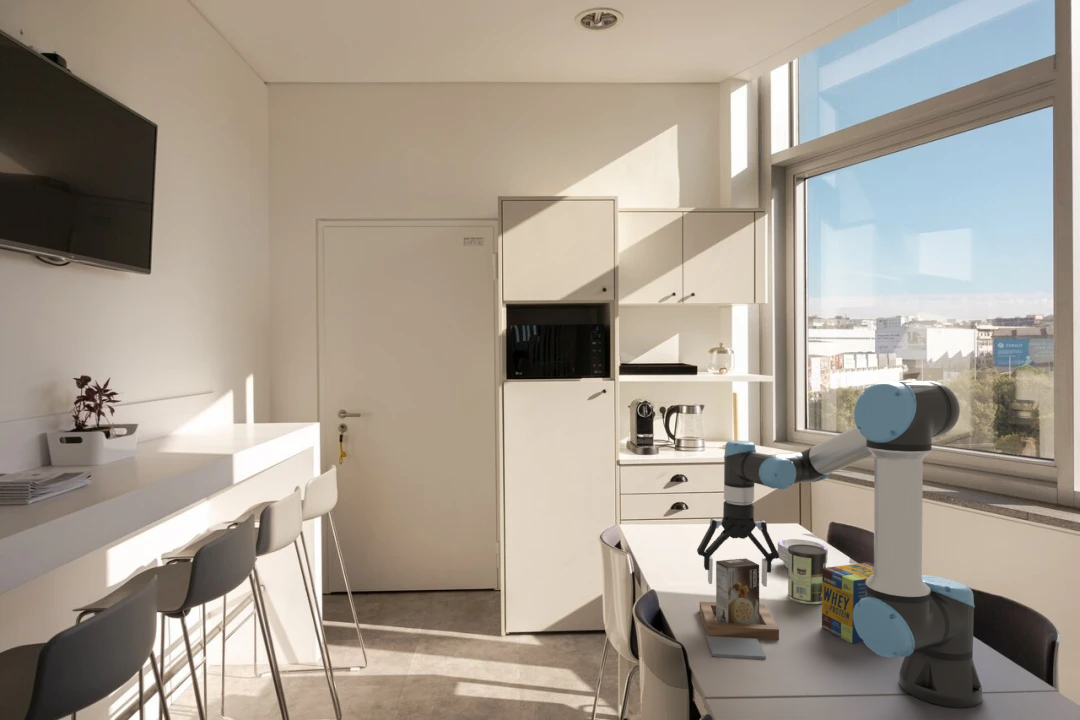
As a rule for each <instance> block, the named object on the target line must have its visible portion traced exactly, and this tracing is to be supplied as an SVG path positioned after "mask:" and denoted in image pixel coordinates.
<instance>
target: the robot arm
mask: <svg viewBox="0 0 1080 720" xmlns="http://www.w3.org/2000/svg"><path fill="white" fill-rule="evenodd" d="M960 408H961V407H960V403H959V400H958V398H957V396H956V395H955V393H954V392H953V391H952V389H951V388H949V387H947V386H946V385H944V384H942V383H941V382H937V381H934V380H903V381H902V380H901V381H900V380H891V381H889V380H887V381H884V382H877V383H874V384H872V385H870V386H868V387H867V388H866V389H864V391H863V392H862V393H861V394H860V395H859V397H858V398H857V401H856V403H855V407H854V409H853V411H854V412H853V416H854V419H853V420H854V424H855V427H852V428H849V429H848V430H845V431H843V432H841V433H839V434H836V435H834V436H833V437H830V438H828V439H826V440H824V441H822V442H819V443H818V444H816V445H814V446H812V447H809V448H807V449H805V450H801V451H800V452H799V451H798V452H789V453H778V454H777V453H776V454H775V453H774V454H767V453H766V454H765V453H761V452H757V449H756V444H755V443H754V442H752V441H748V440H730V441H727V442H726V443H725V447H724V454H723V455H724V456H723V460H724V461H723V463H724V464H723V465H724V467H723V468H724V470H723V471H724V472H723V473H724V474H723V483H724V484H723V500H724V502H723V506H722V507H723V509H722V510H723V516H722V519H720V520H719V519H715V518H714V517H712V518H710V521H709V527H708V529H707V531H706V532H705V535H704V536H703V538H702V540H701V542H700V544H699V545H698V547H697V549H696V552H697V554H698V555H699V556H702V557H703V567H704V570H705V571H707V582H708V584H709V585H713V568H714V567H713V565H714V563H713V554H714V553H715V552H716V551H717V550H719V548H720V547H721V546H722V544H723V543H724V542H726V541H727V540H728V539H729V538H732V539H742V540H745V539H746V538H749V539H750V541H751V542H752V543H753V544H754V545H755V546H756V548H757V549H758V550H759V551H760V553H761V554H762V556H764V557H762V558H761V584H762V586H763V587H768V584H767V583H768V574H770V573H771V572H772V561H773V560H775V559H776V560H777V559H779V554H778V551H777V549H776V546H775V544H774V543H773V539H772V537H770V534H769V532H768V525H767V522H766V521H765V520H764V519H761V520H759V521H755V517H754V516H755V515H754V514H755V512H754V511H755V505H754V501H755V484H757V485H760V486H764V487H768V488H770V489H774V490H775V489H778V490H786V489H787V490H788V488H789V487H790V486H792V485H794V484H800V483H802V484H803V483H816V482H820V481H823V480H826V479H828V478H829V477H830V475H831V474H833V473H835V472H837V471H839V470H842V469H844V468H848V467H850V466H852V465H854V464H857V463H860V462H862V461H864V460H867V459H869V458H872V457H873V458H874V476H873V477H874V479H873V480H874V483H873V484H874V492H873V493H874V494H873V496H874V500H873V501H874V505H873V506H874V507H873V510H874V512H873V518H874V519H873V520H874V522H873V525H874V526H873V527H874V528H873V530H874V531H873V536H874V537H873V564H874V574H873V575H872V576H870V577H869V578H868V579H867V580H866V589H865V598H862V599H861V600H860V601H859V602H858V603H857V604H856V605H855V607H854V610H853V621H854V625H855V628H856V631H857V633H858V635H859V636H860V638H862V639H863V643H864V644H865V645H866V647H867V648H869V649H870V650H871V651H872V652H874V653H875V654H877V655H878V656H880V657H884V658H888V659H895V658H903V661H902V664H901V666H900V668H899V672H898V683H899V685H900V688H902V690H904V691H905V692H906V693H908V694H910V695H912V697H914V698H917V699H920V700H922V701H925V702H927V703H931V704H935V705H937V706H942V707H950V708H971V707H975V706H977V705H979V704H980V703H982V700H983V687H982V684H981V680H980V678H979V674H978V671H977V668H976V665H975V662H974V658H973V657H974V656H973V654H974V653H973V652H974V651H973V650H974V623H975V622H974V619H975V617H974V616H975V613H974V612H975V607H976V606H975V603H974V601H975V600H974V593H973V591H972V589H971V588H970V587H969V586H968V585H966V584H964V583H961V582H958V581H956V580H952V579H948V578H944V577H940V576H934V575H929V574H923V486H924V485H923V483H924V482H923V481H924V480H923V479H924V478H923V477H924V476H923V473H924V472H923V470H924V469H923V468H924V467H923V464H924V458H925V457H926V456H928V455H929V454H930V453H931V452H932V446H933V445H932V444H933V443H932V442H933V441H932V440H933V439H934V438H937V437H940V436H943V435H946V433H948V432H950V431H951V430H952V429H954V427H955V426H956V424H957V423H958V421H959V417H960V414H961V413H960V411H961V410H960ZM932 438H933V439H932ZM720 526H722V528H723V530H722V531H721V533H720V534H719V535H718V537H717V538H716V539H715V540H714V541H713V542H712V543H711V544H710V542H711V540H712V539H713V538H712V537H713V536H714V534H715V532H716V530H718V529H719V527H720ZM756 527H757V529H758V530H759V531H760V532H761V534H762V536H763V538H764V540H765V542H766V544H767V546H768V548H769V550H770V552H768V551H767V550H766V549H765V547H764V546H763V545H762V543H761V542H760V541H759V540H758V539H757V538H756V536H755V535H754V534H753V533H752V532H753V531H754V529H756ZM709 544H710V545H709Z"/></svg>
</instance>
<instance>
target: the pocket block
mask: <svg viewBox="0 0 1080 720" xmlns="http://www.w3.org/2000/svg"><path fill="white" fill-rule="evenodd" d="M699 613H700V616H701V619H702V623H703V625H704V628H705V631H706V634H707V636H713V637H735V638H756V639H760V640H780V628H779V627H778V625H777V623H776V621H774V619H773V617H772V615H771V614H770V612H769V610H768V608H767V606H766V605H765V603H759V625H757V624H734V623H717V622H716V601H699Z"/></svg>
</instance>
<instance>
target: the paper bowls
mask: <svg viewBox="0 0 1080 720" xmlns="http://www.w3.org/2000/svg"><path fill="white" fill-rule="evenodd" d="M797 544H805V545H813V546H818V547H821V548H823V549H825V550H826V551H827V553H826V564H828V558H829V557H828V552H829V549H828V547H827V545H825V544H823V543H821V542H818V541H814V540H811V539H805V538H783V539H780V540H778V541H777V549H776V550H777V552H778V554H779V558H778V559H779V560H781V561H783V564H784V566H785V567H786V568H787V569H788V547H789V546H791V545H797Z"/></svg>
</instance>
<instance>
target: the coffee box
mask: <svg viewBox="0 0 1080 720" xmlns="http://www.w3.org/2000/svg"><path fill="white" fill-rule="evenodd" d="M715 577H716V578H715V580H716V581H715V602H716V615H715V619H716V622H717V623H734V624H757V625H760V622H759V604H760V564H759V563H756V562H754V561H753V560H750V559H748V558H747V557H746V558H734V559H725V560H716V561H715Z"/></svg>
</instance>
